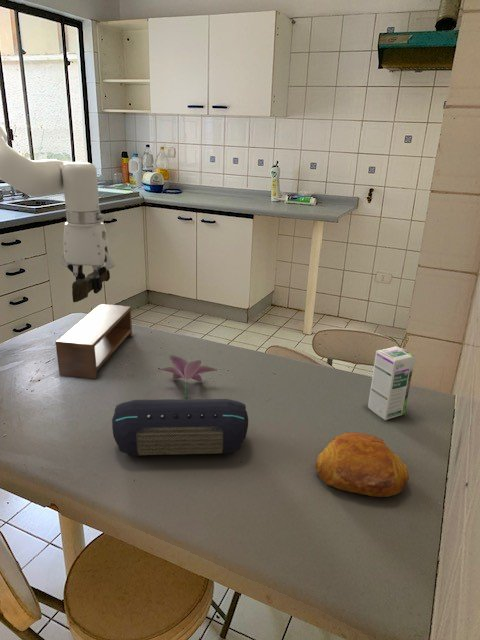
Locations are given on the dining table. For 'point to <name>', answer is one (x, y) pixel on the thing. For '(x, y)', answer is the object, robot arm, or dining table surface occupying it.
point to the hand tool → (85, 286)
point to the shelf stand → (93, 340)
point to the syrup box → (391, 382)
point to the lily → (187, 369)
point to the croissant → (362, 465)
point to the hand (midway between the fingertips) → (89, 290)
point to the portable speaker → (179, 426)
